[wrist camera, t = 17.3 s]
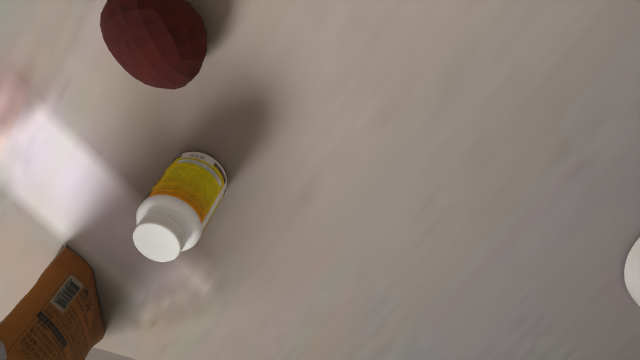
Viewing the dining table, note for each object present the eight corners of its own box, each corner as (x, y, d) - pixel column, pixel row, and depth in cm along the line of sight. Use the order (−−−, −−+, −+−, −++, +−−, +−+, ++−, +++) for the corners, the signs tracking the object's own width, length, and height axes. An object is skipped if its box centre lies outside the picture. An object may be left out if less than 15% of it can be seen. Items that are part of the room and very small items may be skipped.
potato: (189, -42, 43) (156, -22, 38) (233, 60, 47) (209, 89, 42) (109, -12, 46) (69, 10, 41) (157, 83, 49) (126, 113, 44)
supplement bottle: (173, 142, 52) (122, 206, 44) (232, 158, 52) (193, 225, 44) (169, 190, 56) (122, 259, 47) (225, 206, 55) (187, 277, 47)
